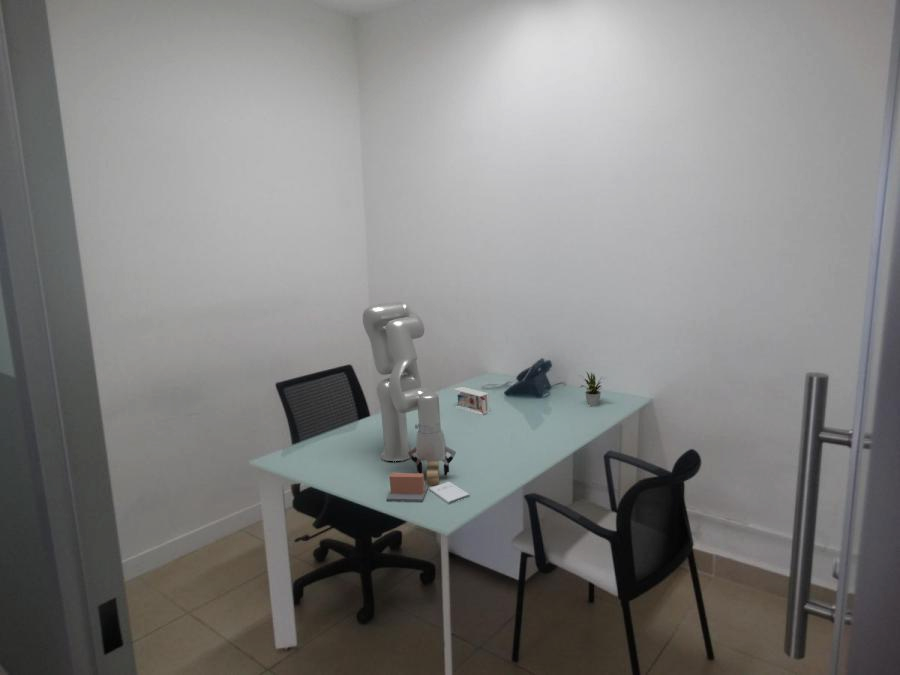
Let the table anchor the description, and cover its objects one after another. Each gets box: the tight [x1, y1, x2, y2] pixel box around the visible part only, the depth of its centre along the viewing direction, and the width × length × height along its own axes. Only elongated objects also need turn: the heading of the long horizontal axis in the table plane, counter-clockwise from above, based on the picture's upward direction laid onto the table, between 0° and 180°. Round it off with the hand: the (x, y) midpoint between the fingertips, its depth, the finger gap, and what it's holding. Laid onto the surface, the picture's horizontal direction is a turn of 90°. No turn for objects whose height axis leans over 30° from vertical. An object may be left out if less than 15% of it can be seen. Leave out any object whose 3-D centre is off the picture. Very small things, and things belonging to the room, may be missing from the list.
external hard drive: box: [428, 481, 471, 505], centre depth 188 cm, size 2×8×12 cm
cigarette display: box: [453, 386, 490, 415], centre depth 273 cm, size 20×6×9 cm, turn 42°
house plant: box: [579, 371, 608, 407], centre depth 270 cm, size 14×14×16 cm
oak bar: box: [426, 461, 440, 487], centre depth 201 cm, size 14×4×4 cm, turn 1°
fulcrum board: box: [386, 472, 430, 503], centre depth 189 cm, size 10×12×7 cm
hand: (433, 473), depth 201 cm, fingers open, 8 cm apart
